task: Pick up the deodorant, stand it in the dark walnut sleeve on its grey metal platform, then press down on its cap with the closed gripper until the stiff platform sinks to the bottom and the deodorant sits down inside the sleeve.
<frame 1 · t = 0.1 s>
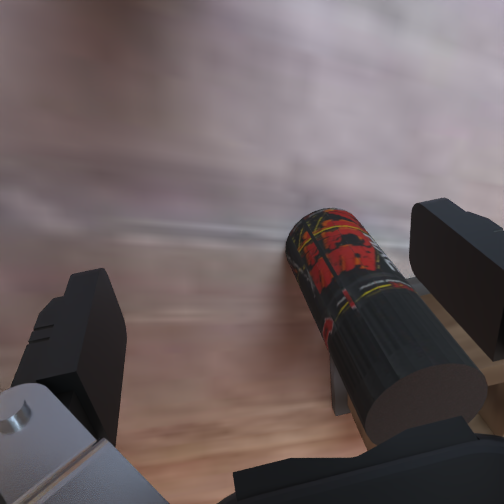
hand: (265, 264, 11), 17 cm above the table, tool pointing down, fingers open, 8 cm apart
deodorant: (323, 242, 33), on the table
sleeve holder: (404, 340, 40), on the table
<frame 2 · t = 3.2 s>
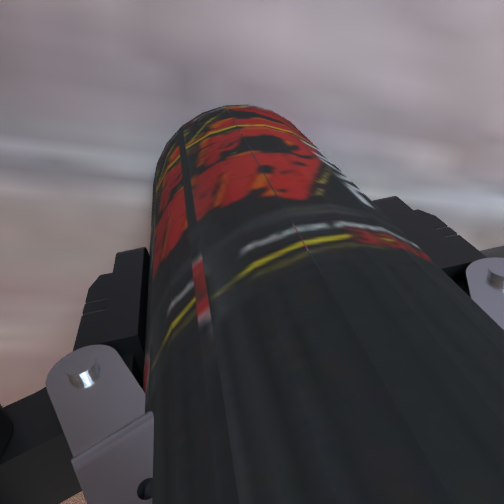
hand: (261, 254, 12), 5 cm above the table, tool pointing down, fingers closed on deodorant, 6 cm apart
deodorant: (237, 187, 16), on the table, touching gripper
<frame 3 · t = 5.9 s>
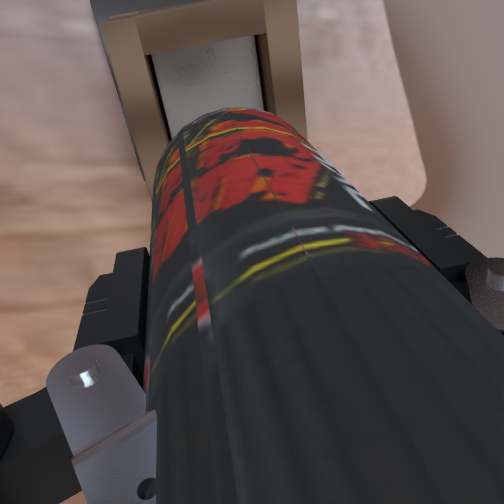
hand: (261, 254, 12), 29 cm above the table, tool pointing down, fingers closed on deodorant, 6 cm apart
deodorant: (236, 189, 16), point 24 cm above the table, touching gripper
press platform: (212, 95, 32), point 6 cm above the table, slide at 0.0 cm
sleeve holder: (205, 81, 36), on the table
when the fingers open (12 cm above the table, at t = 8.8 s): deodorant drops 5 cm, resting on press platform.
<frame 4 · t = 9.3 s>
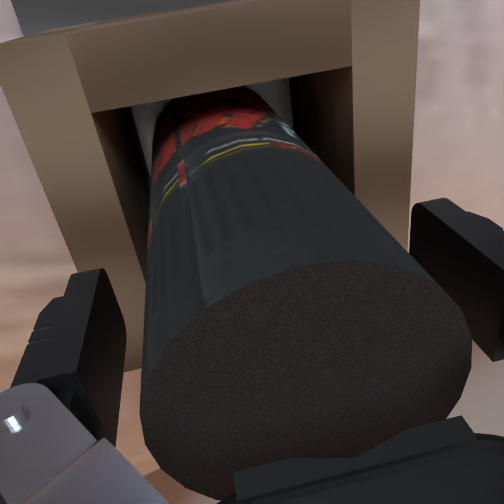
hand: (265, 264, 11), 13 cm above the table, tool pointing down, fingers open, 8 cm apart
deodorant: (217, 146, 21), point 2 cm above the table, touching press platform
press platform: (219, 144, 21), point 2 cm above the table, slide at 4.0 cm, touching deodorant
sleeve holder: (216, 135, 22), on the table
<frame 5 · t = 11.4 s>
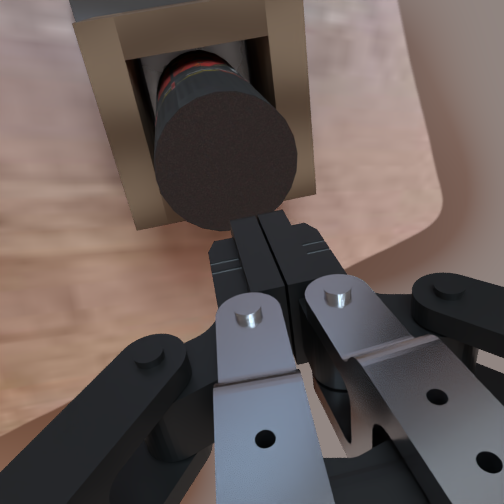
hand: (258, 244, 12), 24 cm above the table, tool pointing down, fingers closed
deodorant: (199, 95, 31), point 2 cm above the table, touching press platform
press platform: (201, 95, 31), point 2 cm above the table, slide at 4.0 cm, touching deodorant
sleeve holder: (199, 91, 33), on the table
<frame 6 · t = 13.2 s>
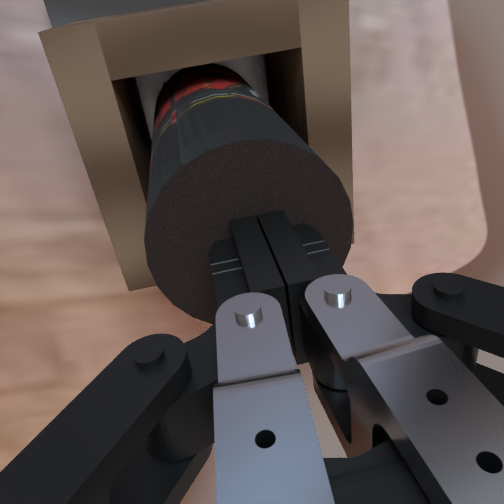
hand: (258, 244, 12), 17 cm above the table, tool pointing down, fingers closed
deodorant: (207, 117, 25), point 2 cm above the table, touching gripper, press platform
press platform: (208, 116, 26), point 2 cm above the table, slide at 4.0 cm, touching deodorant
sleeve holder: (206, 111, 27), on the table
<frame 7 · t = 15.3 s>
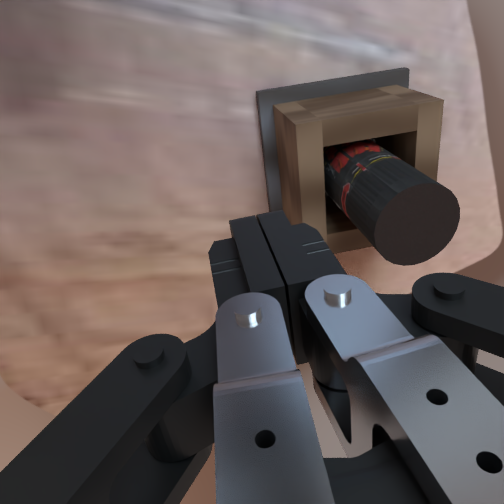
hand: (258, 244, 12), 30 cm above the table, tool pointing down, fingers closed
deodorant: (338, 158, 42), point 2 cm above the table, touching press platform
press platform: (338, 158, 42), point 2 cm above the table, slide at 4.0 cm, touching deodorant
sleeve holder: (333, 153, 44), on the table
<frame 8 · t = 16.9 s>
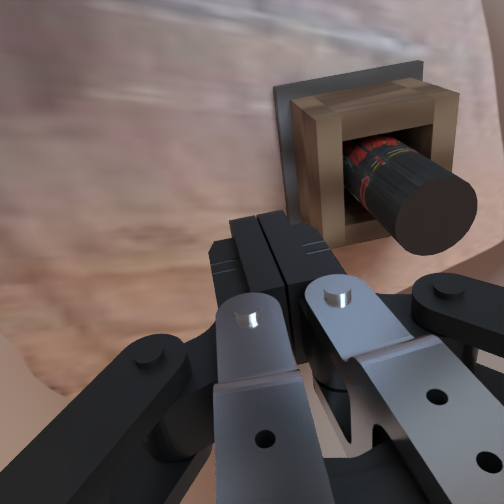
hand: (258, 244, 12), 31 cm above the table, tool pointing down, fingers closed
deodorant: (354, 151, 43), point 2 cm above the table, touching press platform
press platform: (354, 150, 43), point 2 cm above the table, slide at 4.0 cm, touching deodorant
sleeve holder: (348, 146, 45), on the table
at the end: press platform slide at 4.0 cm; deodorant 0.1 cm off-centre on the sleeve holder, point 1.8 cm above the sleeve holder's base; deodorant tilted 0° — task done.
